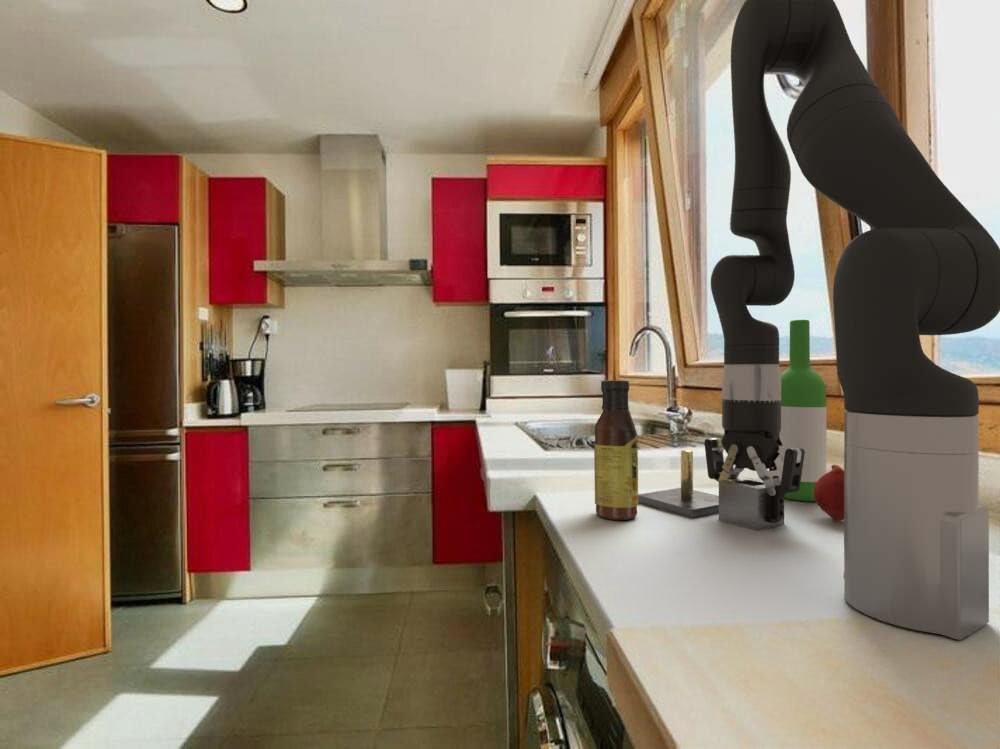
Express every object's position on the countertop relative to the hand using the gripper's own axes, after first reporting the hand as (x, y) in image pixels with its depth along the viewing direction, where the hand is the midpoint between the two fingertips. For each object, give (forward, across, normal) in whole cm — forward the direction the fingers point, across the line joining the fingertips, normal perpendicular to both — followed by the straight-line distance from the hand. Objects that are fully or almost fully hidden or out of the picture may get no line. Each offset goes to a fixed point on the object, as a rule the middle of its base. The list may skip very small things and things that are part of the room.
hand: (750, 516), depth 73 cm
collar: (+1, 0, 0) cm, 1 cm away
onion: (+1, -6, -11) cm, 13 cm away
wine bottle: (+1, +5, -21) cm, 22 cm away
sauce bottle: (+1, +12, +14) cm, 19 cm away
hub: (+1, +11, 0) cm, 11 cm away
